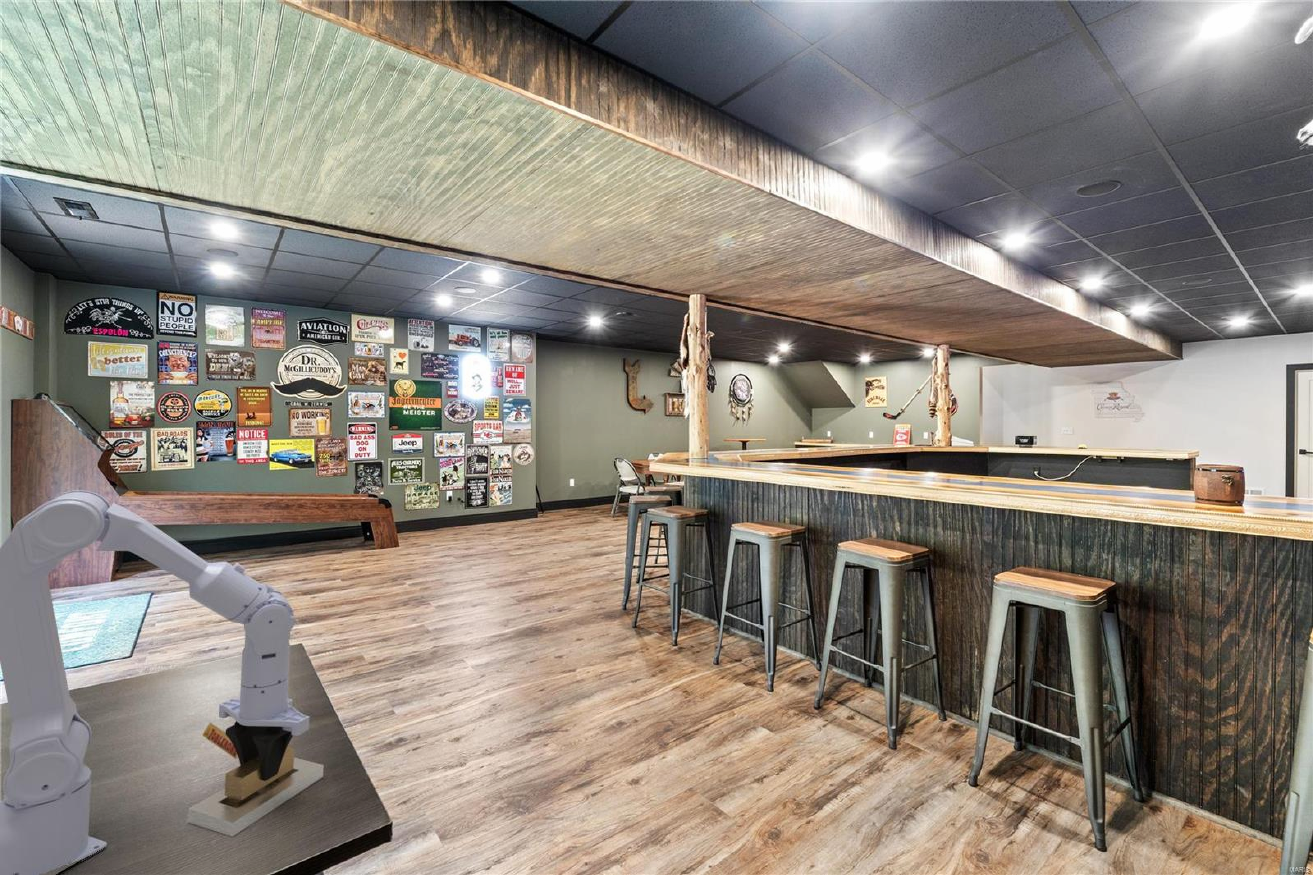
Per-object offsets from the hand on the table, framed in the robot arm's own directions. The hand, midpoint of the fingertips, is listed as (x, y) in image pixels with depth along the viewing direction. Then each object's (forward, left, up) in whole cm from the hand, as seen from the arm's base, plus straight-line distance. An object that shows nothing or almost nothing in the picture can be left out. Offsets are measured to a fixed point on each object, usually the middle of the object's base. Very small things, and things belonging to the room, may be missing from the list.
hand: (260, 774), depth 82 cm
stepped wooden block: (0, 0, -3) cm, 3 cm away
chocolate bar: (+9, +18, -4) cm, 20 cm away
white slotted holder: (0, 0, -3) cm, 3 cm away
